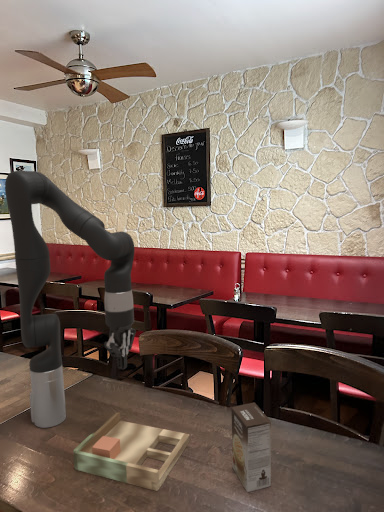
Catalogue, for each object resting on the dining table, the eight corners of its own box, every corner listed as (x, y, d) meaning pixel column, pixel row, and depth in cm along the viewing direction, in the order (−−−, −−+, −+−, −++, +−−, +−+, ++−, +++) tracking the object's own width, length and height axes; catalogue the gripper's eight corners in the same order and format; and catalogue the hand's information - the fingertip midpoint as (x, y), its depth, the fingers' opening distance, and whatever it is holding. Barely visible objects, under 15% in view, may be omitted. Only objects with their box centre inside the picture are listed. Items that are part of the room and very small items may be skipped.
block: (92, 460, 96) (91, 447, 96) (103, 448, 101) (102, 435, 100) (110, 463, 94) (109, 450, 94) (120, 451, 99) (119, 438, 99)
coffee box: (231, 467, 95) (230, 406, 93) (254, 462, 97) (254, 401, 95) (246, 493, 86) (246, 426, 84) (272, 486, 88) (272, 420, 86)
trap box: (74, 469, 96) (73, 450, 95) (117, 426, 114) (116, 410, 114) (157, 491, 88) (156, 470, 87) (189, 441, 106) (189, 423, 105)
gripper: (117, 314, 96) (121, 380, 98) (143, 301, 108) (146, 360, 110) (92, 312, 98) (96, 376, 101) (120, 299, 111) (123, 357, 113)
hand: (122, 368), depth 106 cm, fingers closed
